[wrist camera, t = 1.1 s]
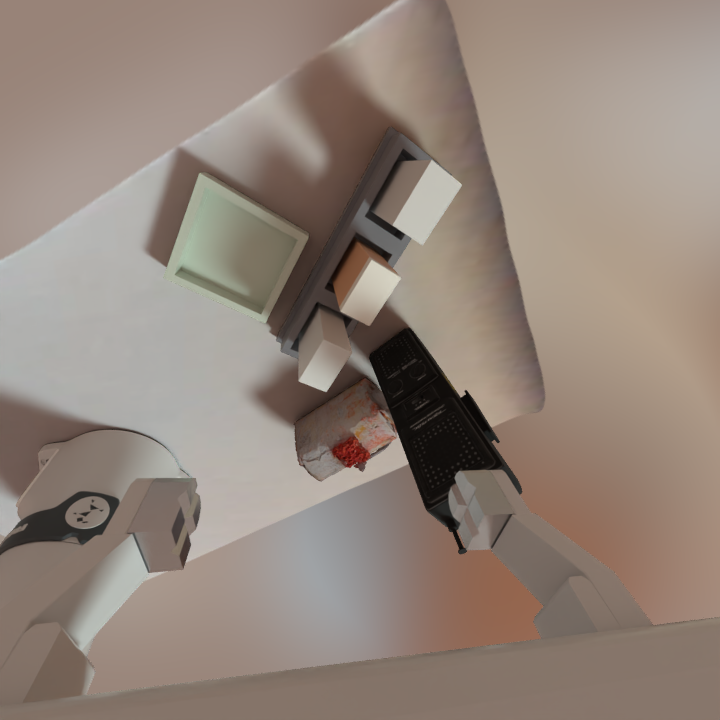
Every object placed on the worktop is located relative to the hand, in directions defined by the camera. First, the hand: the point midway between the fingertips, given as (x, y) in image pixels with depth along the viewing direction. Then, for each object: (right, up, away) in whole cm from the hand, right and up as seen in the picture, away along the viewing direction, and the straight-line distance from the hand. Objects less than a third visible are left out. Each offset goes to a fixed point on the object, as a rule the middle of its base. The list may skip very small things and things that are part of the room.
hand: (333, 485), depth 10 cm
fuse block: (0, +15, +26) cm, 30 cm away
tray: (-12, +15, +24) cm, 31 cm away
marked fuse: (0, +15, +26) cm, 29 cm away
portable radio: (+6, +5, +34) cm, 35 cm away
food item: (-2, -3, +38) cm, 38 cm away
